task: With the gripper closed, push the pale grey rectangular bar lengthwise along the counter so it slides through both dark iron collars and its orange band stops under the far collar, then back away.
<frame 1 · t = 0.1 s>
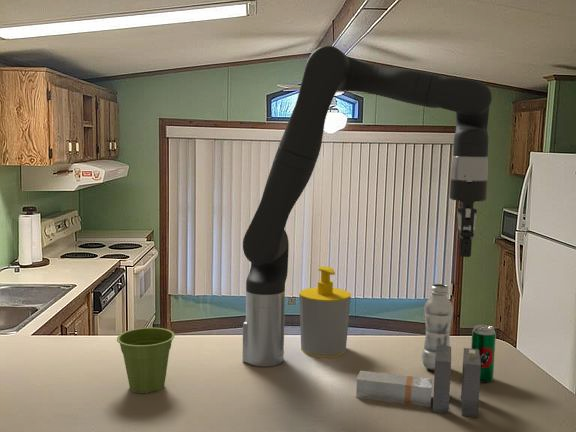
hand: (464, 253, 130), 29 cm above the counter, tool pointing down, fingers open, 8 cm apart
plant pot: (146, 388, 128), on the counter
pale grey rectangular bar: (393, 397, 125), on the counter
soda can: (481, 379, 136), on the counter
soap bottle: (323, 350, 154), on the counter
collar b: (469, 406, 122), on the counter
collar a: (440, 402, 123), on the counter
plastic bottle: (435, 369, 142), on the counter
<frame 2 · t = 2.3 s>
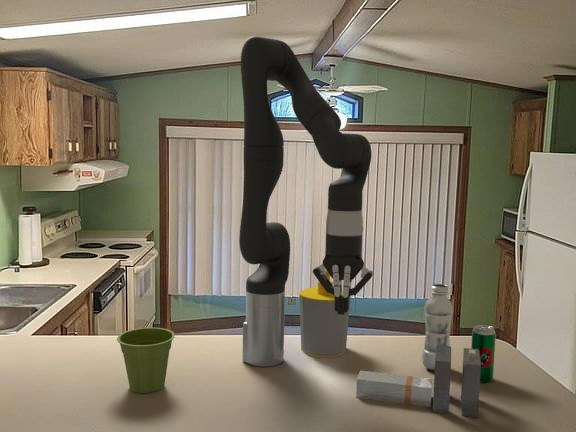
hand: (341, 313, 126), 17 cm above the counter, tool pointing down, fingers closed
nothing on the counter moved.
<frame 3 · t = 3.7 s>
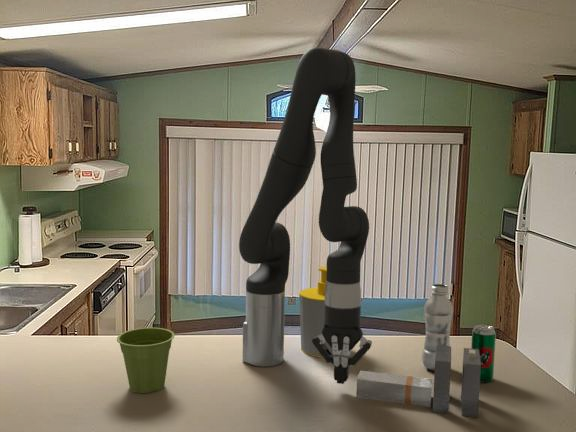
hand: (341, 382, 127), 2 cm above the counter, tool pointing down, fingers closed
nothing on the counter moved.
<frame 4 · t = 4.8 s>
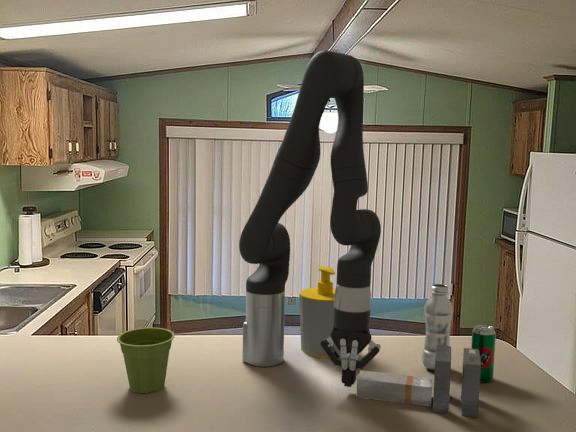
hand: (348, 385, 127), 2 cm above the counter, tool pointing down, fingers closed
pale grey rectangular bar: (394, 397, 125), on the counter, touching gripper
everything else where it was.
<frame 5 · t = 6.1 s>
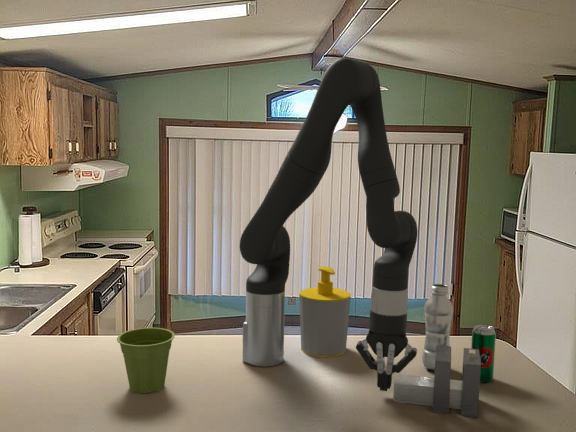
hand: (384, 389, 125), 2 cm above the counter, tool pointing down, fingers closed
pale grey rectangular bar: (430, 400, 124), on the counter, touching gripper
everything else where it was.
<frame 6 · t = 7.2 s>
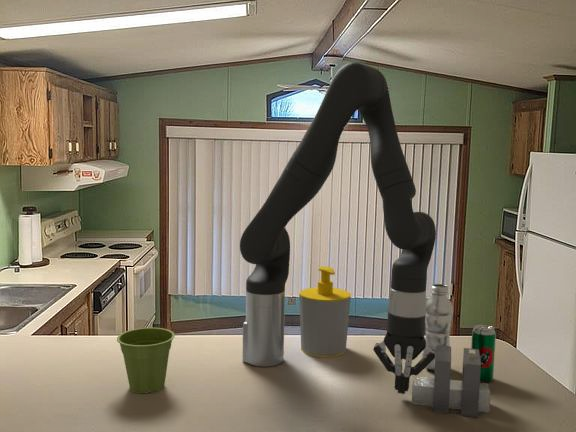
hand: (401, 391, 124), 2 cm above the counter, tool pointing down, fingers closed
pale grey rectangular bar: (449, 403, 123), on the counter, touching gripper
everything else where it was.
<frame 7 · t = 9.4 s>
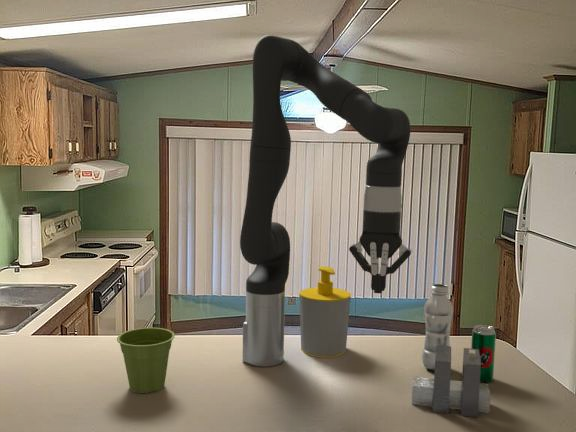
hand: (378, 292, 123), 22 cm above the counter, tool pointing down, fingers closed
pale grey rectangular bar: (449, 403, 123), on the counter
everything else where it was.
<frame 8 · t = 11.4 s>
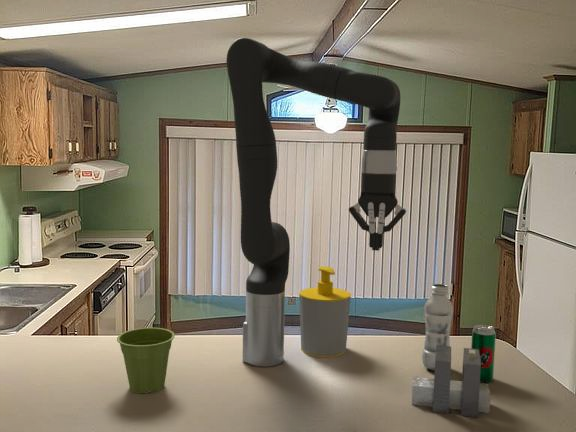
hand: (376, 249, 133), 29 cm above the counter, tool pointing down, fingers closed
nothing on the counter moved.
at the end: pale grey rectangular bar 0.9 cm from the target spot, on the counter; pale grey rectangular bar moved 11.2 cm from its start; the gripper is holding nothing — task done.
